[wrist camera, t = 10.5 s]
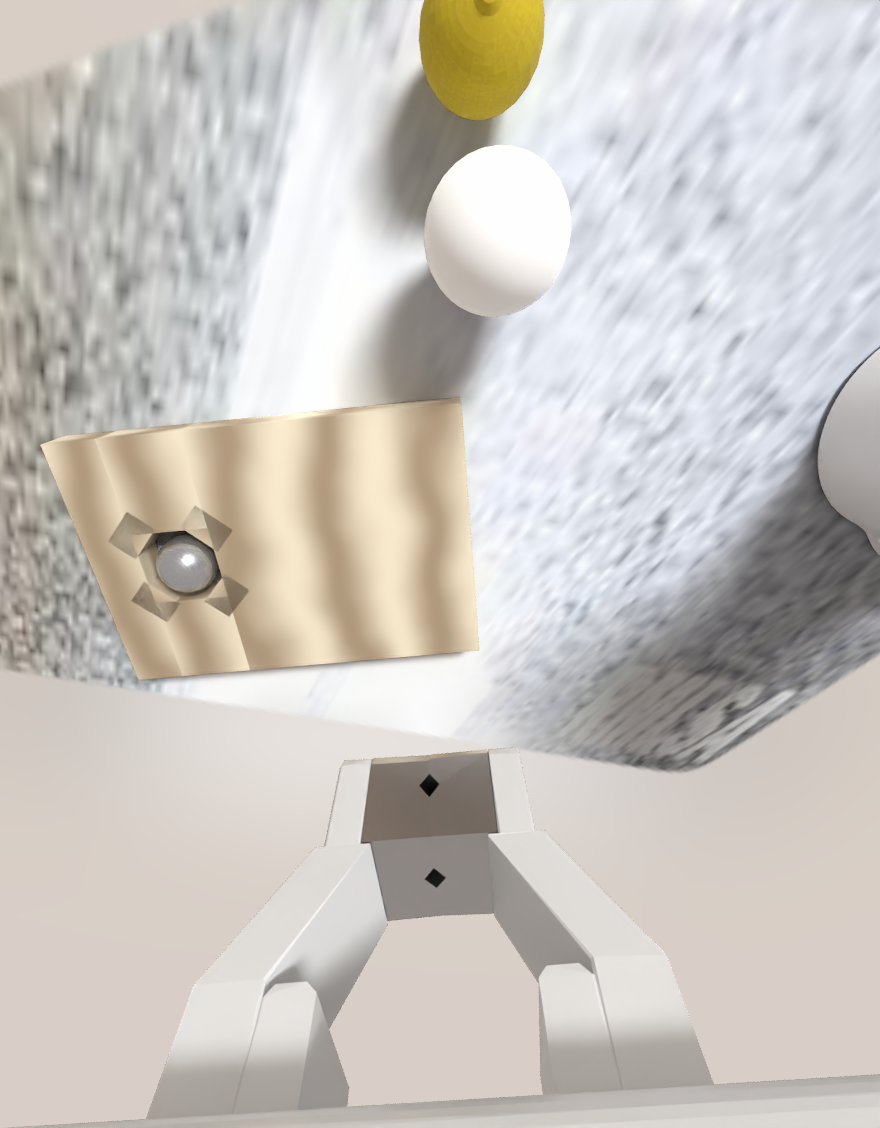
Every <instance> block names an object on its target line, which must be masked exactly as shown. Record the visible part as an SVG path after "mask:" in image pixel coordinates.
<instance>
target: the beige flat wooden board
mask: <svg viewBox="0 0 880 1128" xmlns="http://www.w3.org/2000/svg"><path fill="white" fill-rule="evenodd" d="M41 447H42V449H43V452H44V454H45V457H46V459H47V461H48V464H49V466H50V469H51V471H52V473H53V476H54V478H55V481H56V483H57V485H58V488H59V490H60V493H61V495H62V497H63V500H64V502H65V505H66V507H67V509H68V512H69V514H70V517H71V519H72V521H73V524H74V526H75V529H76V531H77V533H78V536H79V538H80V541H81V543H82V545H83V548H84V550H85V553H86V555H87V557H88V560H89V562H90V565H91V567H92V569H93V572H94V574H95V577H96V579H97V581H98V584H99V586H100V589H101V591H102V593H103V596H104V598H105V601H106V603H107V605H108V608H109V610H110V613H111V615H112V617H113V620H114V622H115V625H116V627H117V629H118V632H119V634H120V637H121V639H122V641H123V644H124V646H125V649H126V651H127V653H128V656H129V658H130V660H131V663H132V665H133V668H134V670H135V672H136V675H137V677H138V680H143V679H155V678H166V677H178V676H189V675H201V674H212V673H224V672H235V671H247V670H258V669H270V668H282V667H293V666H305V665H316V664H328V663H339V662H351V661H362V660H374V659H385V658H397V657H408V656H420V655H431V654H443V653H455V652H466V651H478V650H479V637H478V623H477V609H476V596H475V582H474V568H473V555H472V541H471V527H470V513H469V500H468V486H467V472H466V458H465V445H464V431H463V417H462V404H461V400H460V397H456V398H446V399H436V400H426V401H415V402H405V403H395V404H385V405H375V406H365V407H354V408H344V409H334V410H324V411H314V412H304V413H294V414H283V415H273V416H263V417H253V418H243V419H233V420H222V421H212V422H202V423H192V424H182V425H172V426H162V427H151V428H141V429H131V430H121V431H111V432H101V433H90V434H80V435H70V436H64V437H61V438H58V439H55V440H52V441H50V442H47V443H44V444H41ZM182 530H185V531H187V532H188V533H190V534H191V535H193V536H194V537H196V538H197V539H199V540H201V541H202V542H204V543H205V544H207V545H208V546H210V547H211V548H213V549H214V552H215V556H216V559H217V562H218V565H219V569H220V572H221V575H222V578H221V580H220V581H219V582H215V583H211V584H210V585H208V586H207V587H205V588H204V589H202V590H199V591H195V592H180V591H177V590H174V589H172V588H170V587H169V586H167V585H166V584H165V583H164V582H163V581H162V580H161V578H160V577H159V575H158V573H157V569H156V558H157V555H158V552H159V551H158V548H157V545H156V543H155V541H156V539H157V538H158V536H159V535H160V533H161V532H171V531H182Z"/></svg>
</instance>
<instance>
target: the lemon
mask: <svg viewBox="0 0 880 1128" xmlns="http://www.w3.org/2000/svg"><path fill="white" fill-rule="evenodd" d="M544 16H545V14H544V6H543V0H424V3H423V7H422V11H421V18H420V32H419V43H420V52H421V60H422V65H423V68H424V71H425V74H426V77H427V80H428V83H429V85H430V86H431V88H432V90H433V91H434V93H435V95H436V97H437V98H438V100H439V101H440V102H441V103H442V104H443V105H444V106H445V107H446V108H447V109H448V110H449V111H451V112H453V113H454V114H456V115H458V116H459V117H461V118H466V119H470V120H485V119H490V118H492V117H495V116H497V115H499V114H502V113H503V112H504V111H506V110H507V109H508V108H509V107H511V106H512V105H513V104H514V103H515V102H516V101H517V100H518V98H519V97H520V96H521V95H522V93H523V92H524V91H525V89H526V88H527V87H528V85H529V83H530V80H531V78H532V76H533V74H534V72H535V70H536V68H537V65H538V61H539V57H540V53H541V49H542V45H543V37H544Z"/></svg>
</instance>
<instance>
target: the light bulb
mask: <svg viewBox="0 0 880 1128" xmlns="http://www.w3.org/2000/svg"><path fill="white" fill-rule="evenodd" d="M570 235H571V214H570V208H569V203H568V199H567V195H566V193H565V190H564V188H563V186H562V183H561V181H560V180H559V178H558V177H557V175H556V174H555V172H554V171H553V169H552V168H551V167H550V166H549V165H548V164H547V163H546V162H545V161H544V160H543V159H542V158H540V157H539V156H537V155H535V154H534V153H532V152H530V151H529V150H526V149H523V148H519V147H516V146H510V145H494V146H488V147H483V148H480V149H478V150H476V151H474V152H471V153H469V154H467V155H466V156H465V157H463V158H462V159H460V160H459V161H458V162H456V163H455V164H454V165H453V166H452V167H451V168H450V170H449V171H448V172H447V173H446V174H445V175H444V176H443V178H442V180H441V181H440V183H439V185H438V186H437V188H436V190H435V192H434V194H433V196H432V199H431V202H430V204H429V207H428V210H427V215H426V220H425V225H424V246H425V252H426V259H427V262H428V265H429V268H430V271H431V274H432V275H433V277H434V279H435V281H436V283H437V285H438V286H439V288H440V289H441V290H442V291H443V293H444V294H445V295H446V296H447V297H448V298H449V299H450V300H451V301H452V302H454V303H455V304H456V305H457V306H458V307H460V308H462V309H464V310H466V311H468V312H470V313H473V314H477V315H481V316H489V317H499V316H505V315H510V314H513V313H515V312H518V311H520V310H523V309H525V308H526V307H528V306H529V305H531V304H532V303H534V302H535V301H537V300H538V299H539V298H540V297H541V296H542V295H543V294H544V293H545V292H546V291H547V290H548V289H549V288H550V287H551V285H552V284H553V282H554V281H555V280H556V278H557V277H558V275H559V273H560V271H561V269H562V267H563V265H564V262H565V259H566V256H567V252H568V249H569V243H570Z"/></svg>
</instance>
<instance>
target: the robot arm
mask: <svg viewBox="0 0 880 1128" xmlns="http://www.w3.org/2000/svg"><path fill="white" fill-rule="evenodd" d="M818 472H819V478H820V483H821V486H822V489H823V491H824V494H825V496H826V497H827V499H828V501H829V502H830V504H831V505H832V506H833V507H834V508H835V510H836V511H837V512H839V513H840V514H841V515H842V516H843V517H845V518H846V519H848V520H850V521H851V522H853V523H854V524H856V525H858V526H859V527H861V528H862V529H863V530H864V531H865V532H866V534H867V536H868V539H869V541H870V543H871V545H872V547H873V548H874V550H875V551H876V552H877V553H878V554H879V555H880V348H879V349H878V350H877V351H876V352H875V353H874V354H873V355H872V356H870V357H869V358H868V359H867V360H866V361H865V362H864V363H863V364H862V365H861V366H860V368H859V369H858V370H857V371H856V372H855V373H854V375H853V376H852V377H851V378H850V380H849V381H848V382H847V384H846V385H845V386H844V388H843V389H842V391H841V392H840V394H839V396H838V397H837V399H836V401H835V403H834V404H833V406H832V408H831V410H830V413H829V415H828V417H827V420H826V422H825V425H824V428H823V431H822V435H821V439H820V444H819V450H818ZM491 913H494V915H495V917H496V919H497V921H498V922H499V924H500V925H501V927H502V928H503V930H504V931H505V933H506V934H507V936H508V938H509V939H510V941H511V942H512V944H513V945H514V947H515V948H516V950H517V951H518V953H519V954H520V956H521V957H522V959H523V960H524V962H525V963H526V965H527V967H528V968H529V970H530V971H531V973H532V974H533V976H534V977H535V979H536V980H537V982H538V983H539V1026H540V1076H541V1083H542V1091H543V1095H532V1096H516V1097H499V1098H484V1099H467V1100H450V1101H434V1102H417V1103H402V1104H386V1105H368V1106H352V1107H347V1103H348V1091H349V1086H348V1084H347V1080H346V1077H345V1075H344V1072H343V1069H342V1066H341V1063H340V1060H339V1057H338V1054H337V1051H336V1048H335V1045H334V1042H333V1039H332V1037H331V1034H330V1031H329V1028H330V1027H331V1025H332V1023H333V1021H334V1019H335V1018H336V1016H337V1014H338V1012H339V1011H340V1009H341V1007H342V1005H343V1003H344V1002H345V1000H346V998H347V996H348V995H349V993H350V991H351V989H352V988H353V986H354V984H355V982H356V980H357V979H358V976H359V975H360V973H361V972H362V970H363V968H364V966H365V964H366V963H367V961H368V959H369V957H370V955H371V954H372V952H373V950H374V948H375V947H376V945H377V943H378V941H379V940H380V938H381V936H382V934H383V933H384V931H385V929H386V927H387V925H388V923H387V921H391V920H401V919H412V918H422V917H431V916H442V915H464V914H465V915H467V914H491ZM11 1128H880V1074H877V1075H861V1076H844V1077H827V1078H811V1079H795V1080H778V1081H762V1082H745V1083H729V1084H713V1081H712V1078H711V1075H710V1073H709V1070H708V1067H707V1065H706V1062H705V1059H704V1056H703V1053H702V1051H701V1048H700V1046H699V1042H698V1040H697V1037H696V1034H695V1031H694V1029H693V1026H692V1023H691V1020H690V1018H689V1015H688V1012H687V1009H686V1007H685V1004H684V1001H683V999H682V996H681V993H680V991H679V988H678V985H677V982H676V979H675V977H674V974H673V971H672V968H671V966H670V963H669V960H668V957H667V955H666V954H665V953H664V952H663V951H662V950H661V949H660V948H659V947H658V945H656V943H655V942H654V941H653V940H651V938H650V937H649V936H648V935H647V934H646V933H645V932H644V931H643V930H642V929H641V928H640V927H639V926H638V925H637V924H636V923H635V922H634V921H633V920H632V919H631V918H630V917H629V916H628V915H627V914H626V913H625V912H624V911H623V910H622V909H621V908H620V907H619V906H618V905H617V904H616V903H615V902H614V901H613V900H612V899H611V898H610V896H608V894H606V892H605V891H604V890H602V888H601V887H600V886H599V885H598V884H597V883H596V882H595V881H594V880H593V879H592V878H591V877H590V876H589V875H588V874H587V873H586V872H585V871H584V870H583V869H582V868H581V867H580V866H579V865H578V864H577V863H576V862H575V861H574V860H573V859H572V858H571V857H570V856H569V855H568V854H567V853H566V852H565V851H564V850H563V849H562V848H561V847H560V846H559V844H557V842H556V841H555V840H554V839H553V838H552V837H551V836H550V835H549V834H548V833H547V832H546V831H545V830H538V831H537V830H536V831H535V828H534V823H533V818H532V813H531V808H530V803H529V798H528V793H527V788H526V783H525V777H524V772H523V767H522V762H521V758H520V752H519V750H518V749H517V747H511V748H500V749H489V750H488V752H487V750H478V751H467V752H456V753H445V754H433V755H426V756H408V757H391V758H374V759H365V760H345V761H344V762H343V764H342V766H341V768H340V771H339V776H338V781H337V786H336V791H335V796H334V801H333V806H332V811H331V816H330V821H329V826H328V830H327V836H326V840H325V846H323V847H316V848H314V849H313V850H312V851H311V853H310V854H309V855H308V856H307V857H306V858H305V859H304V861H303V862H302V863H301V864H300V865H299V866H298V868H297V869H296V870H295V871H294V872H293V873H292V874H291V875H290V876H289V878H288V879H287V880H286V881H285V882H284V883H283V885H282V886H281V887H280V888H279V889H278V890H277V891H276V892H275V894H274V895H273V896H272V897H271V898H270V899H269V900H268V902H267V903H266V904H265V905H264V906H263V907H262V908H261V910H260V911H259V912H258V913H257V914H256V915H255V916H254V917H253V919H252V920H251V921H250V922H249V923H248V924H247V925H246V927H245V928H244V929H243V930H242V931H241V932H240V934H239V935H238V936H237V937H236V938H235V939H234V940H233V942H231V944H230V945H229V946H228V947H227V948H226V949H225V950H224V952H223V953H222V954H221V955H220V956H219V957H218V958H217V960H216V961H215V962H214V963H213V964H212V965H211V967H210V968H209V969H208V970H207V971H206V972H205V973H204V974H203V976H202V977H201V978H200V979H199V980H198V981H197V982H196V983H195V985H194V986H193V989H192V991H191V995H190V997H189V1000H188V1003H187V1006H186V1008H185V1012H184V1014H183V1017H182V1020H181V1022H180V1025H179V1029H178V1031H177V1034H176V1037H175V1039H174V1042H173V1045H172V1048H171V1050H170V1053H169V1056H168V1059H167V1062H166V1064H165V1067H164V1070H163V1073H162V1076H161V1078H160V1081H159V1084H158V1087H157V1090H156V1092H155V1095H154V1098H153V1101H152V1104H151V1106H150V1109H149V1112H148V1115H147V1118H146V1119H140V1120H124V1121H108V1122H91V1123H76V1124H59V1125H45V1126H28V1127H11Z"/></svg>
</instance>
